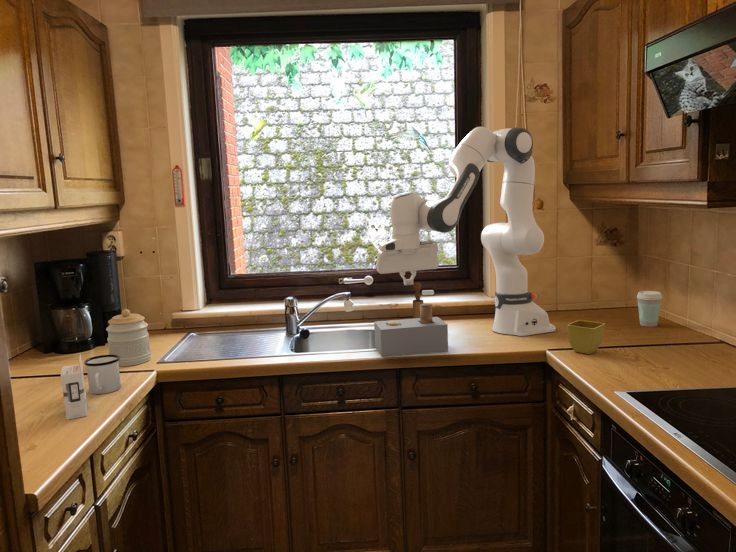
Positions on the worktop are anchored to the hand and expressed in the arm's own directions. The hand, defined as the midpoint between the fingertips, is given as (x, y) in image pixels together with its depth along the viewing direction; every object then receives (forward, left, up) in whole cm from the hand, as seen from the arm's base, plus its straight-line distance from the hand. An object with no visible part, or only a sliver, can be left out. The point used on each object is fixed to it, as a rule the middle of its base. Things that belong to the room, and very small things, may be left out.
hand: (408, 284), depth 202 cm
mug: (+93, +16, -22) cm, 97 cm away
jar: (+92, -14, -22) cm, 96 cm away
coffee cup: (-90, -6, -22) cm, 93 cm away
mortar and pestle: (-9, -26, -22) cm, 35 cm away
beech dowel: (+5, 0, -21) cm, 22 cm away
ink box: (+96, +33, -22) cm, 103 cm away
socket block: (0, 0, -22) cm, 22 cm away
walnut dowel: (-6, 0, -16) cm, 17 cm away
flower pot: (-52, +19, -22) cm, 60 cm away
